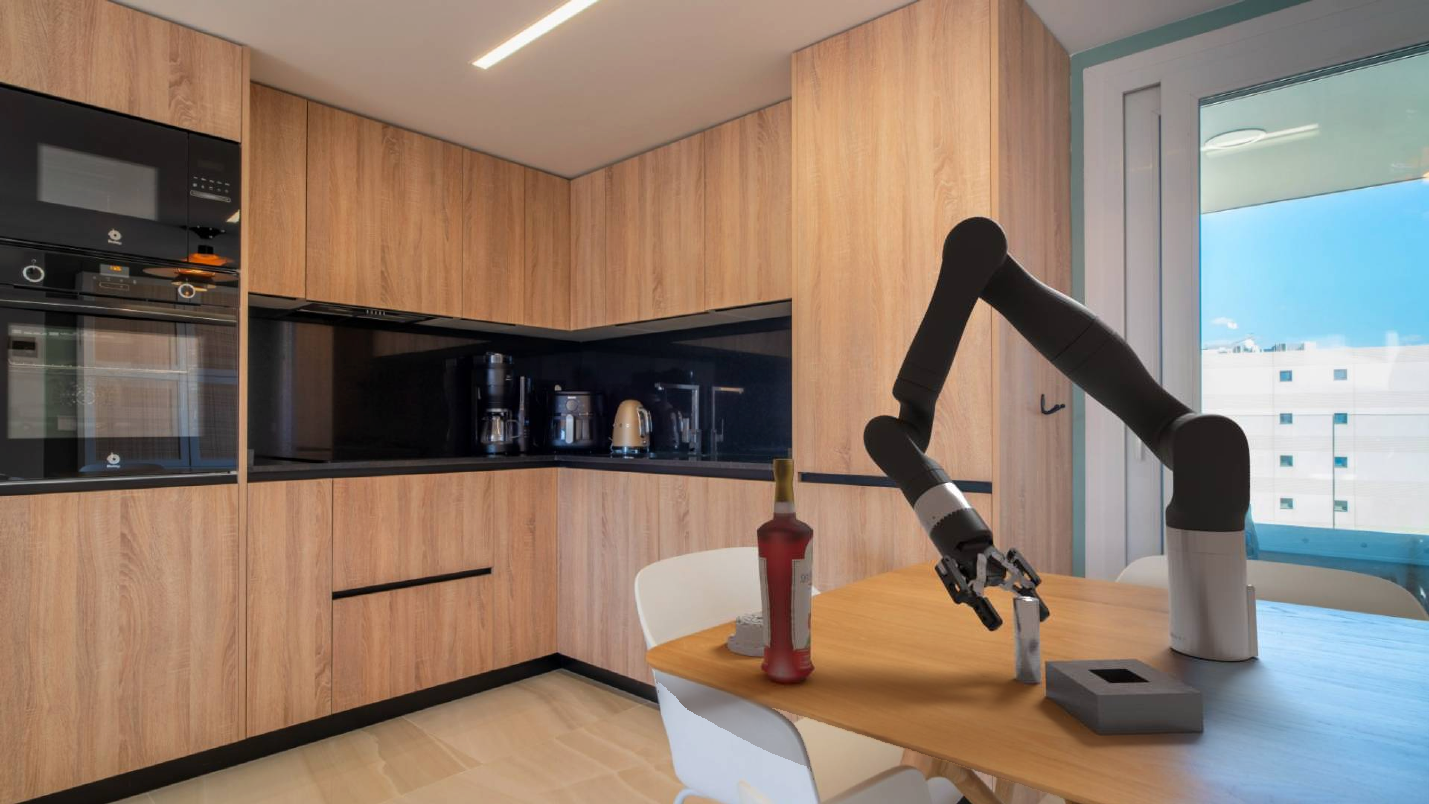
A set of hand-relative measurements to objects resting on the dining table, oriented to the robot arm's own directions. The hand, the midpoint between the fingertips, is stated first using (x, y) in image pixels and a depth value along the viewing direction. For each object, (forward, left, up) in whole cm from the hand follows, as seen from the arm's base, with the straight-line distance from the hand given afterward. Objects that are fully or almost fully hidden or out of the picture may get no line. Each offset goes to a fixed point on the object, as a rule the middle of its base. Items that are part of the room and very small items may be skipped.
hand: (1021, 623), depth 91 cm
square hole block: (-5, +12, -7) cm, 15 cm away
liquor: (+30, -2, -7) cm, 31 cm away
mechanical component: (+32, -16, -7) cm, 36 cm away
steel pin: (0, +1, -7) cm, 7 cm away
